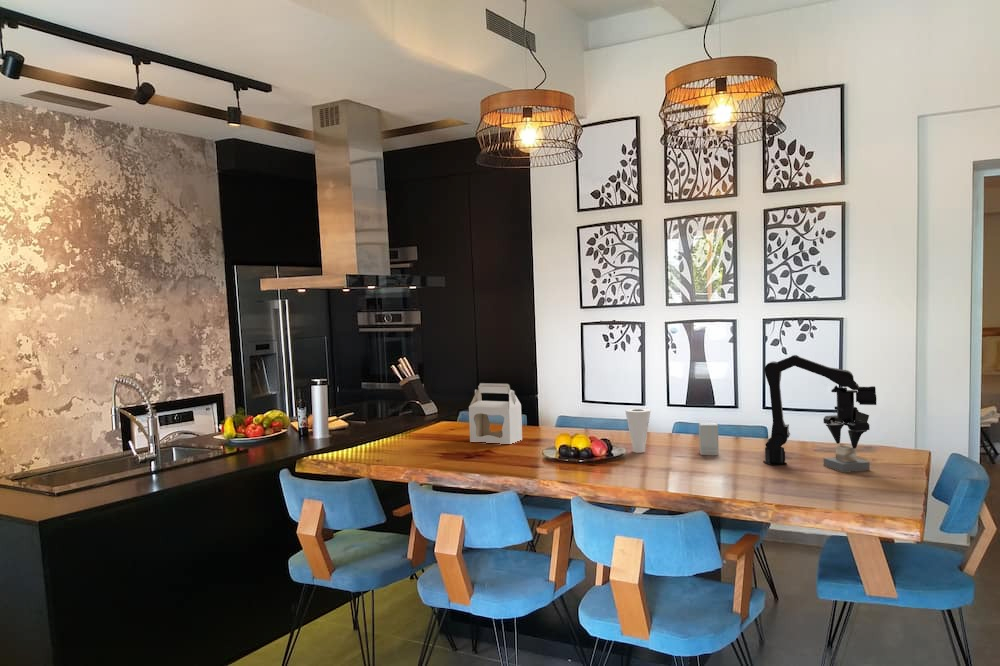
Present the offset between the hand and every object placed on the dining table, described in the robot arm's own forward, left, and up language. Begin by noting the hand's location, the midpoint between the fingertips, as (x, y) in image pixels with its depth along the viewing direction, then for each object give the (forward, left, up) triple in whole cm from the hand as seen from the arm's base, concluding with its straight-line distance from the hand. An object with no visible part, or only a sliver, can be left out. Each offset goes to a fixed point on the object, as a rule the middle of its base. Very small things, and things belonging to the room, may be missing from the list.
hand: (846, 445), depth 262 cm
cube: (0, 0, -5) cm, 5 cm away
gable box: (-116, +98, -9) cm, 152 cm away
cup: (-61, +53, -9) cm, 81 cm away
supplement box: (-35, +40, -9) cm, 54 cm away
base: (0, 0, -8) cm, 8 cm away
